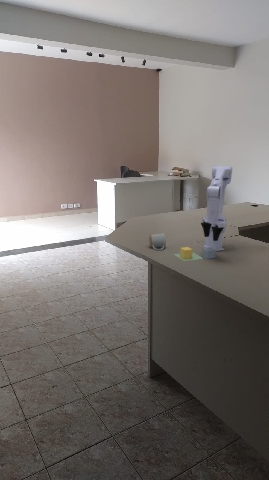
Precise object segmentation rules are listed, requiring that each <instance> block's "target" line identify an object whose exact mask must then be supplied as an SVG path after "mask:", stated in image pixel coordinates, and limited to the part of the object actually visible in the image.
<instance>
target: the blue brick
mask: <svg viewBox="0 0 269 480" xmlns="http://www.w3.org/2000/svg"><path fill="white" fill-rule="evenodd" d="M216 252H217V251H216V250H214V249H212V248H205V247H203V248H202V253H201V257H202V258H205V259H206V260H211V259H216Z"/></svg>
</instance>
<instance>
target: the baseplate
mask: <svg viewBox="0 0 269 480" xmlns="http://www.w3.org/2000/svg"><path fill="white" fill-rule="evenodd" d="M173 255H174V256H175V257H177V258H179V259H180V260H182V262H189V261H196V260H198V261H199V260H203V259H204V257H203V256H200V255H198V254H197V253H195V252H194V251H193V252H192V258H191V259H183V258H181V257H180V253H174V254H173Z"/></svg>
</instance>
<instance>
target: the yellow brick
mask: <svg viewBox="0 0 269 480" xmlns="http://www.w3.org/2000/svg"><path fill="white" fill-rule="evenodd" d="M193 250H194V249H193V248H190V247H189V246H185V247H183V246H182V247H180V248H179V254H180V257H181V258H183V259H191V258H192V252H193V253H194V251H193Z"/></svg>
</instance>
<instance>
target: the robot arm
mask: <svg viewBox="0 0 269 480" xmlns="http://www.w3.org/2000/svg"><path fill="white" fill-rule="evenodd" d="M232 175H233V167H232V166H231V165H230V166H228V165H213V166H212V170H211V178H212V179H211V182H210V185H209V186H207V189H206V201H207V202H206V203H207V205H206V216H203V217H202V219H201V220H202V222H200V225H201V227H202V231H203V236H204V245H202V246H203V248H212V249H214V250H216V251H215V252H218V251H220V252H221V251H225V250H226V249H225V248H224V247H223V246H222V245H223V235H224V234H225V233H226V232H227V231H226V230H227V218H226V217H225V216H224V215H223V209H224V202H225V193H226V188H227V185H229V184H231V181H232V177H233V176H232Z"/></svg>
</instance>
